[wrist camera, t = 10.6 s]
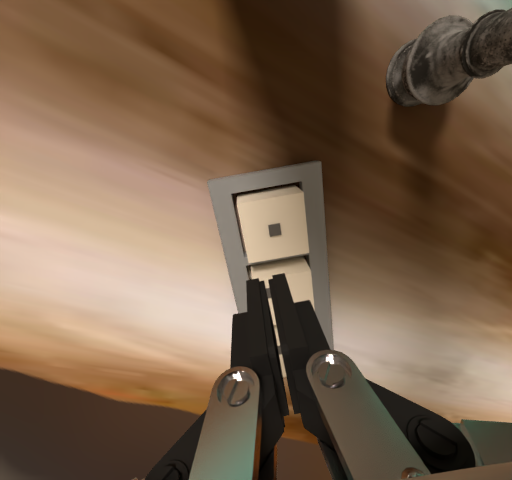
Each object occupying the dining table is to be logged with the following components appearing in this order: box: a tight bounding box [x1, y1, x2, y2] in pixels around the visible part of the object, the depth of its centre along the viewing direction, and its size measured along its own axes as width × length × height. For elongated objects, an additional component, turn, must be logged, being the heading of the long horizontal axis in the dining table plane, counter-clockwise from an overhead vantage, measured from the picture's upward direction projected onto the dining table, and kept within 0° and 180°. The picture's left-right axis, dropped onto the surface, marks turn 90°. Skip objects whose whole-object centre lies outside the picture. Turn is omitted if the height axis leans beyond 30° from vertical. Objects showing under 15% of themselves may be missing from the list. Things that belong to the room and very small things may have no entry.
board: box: [207, 160, 334, 350], centre depth 29 cm, size 11×26×2 cm, turn 10°
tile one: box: [237, 185, 309, 263], centre depth 25 cm, size 6×6×4 cm
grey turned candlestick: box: [386, 8, 512, 106], centre depth 17 cm, size 6×6×12 cm
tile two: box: [251, 256, 315, 325], centre depth 28 cm, size 6×6×4 cm
